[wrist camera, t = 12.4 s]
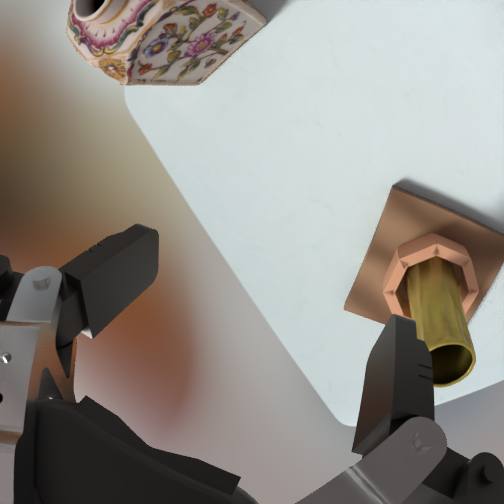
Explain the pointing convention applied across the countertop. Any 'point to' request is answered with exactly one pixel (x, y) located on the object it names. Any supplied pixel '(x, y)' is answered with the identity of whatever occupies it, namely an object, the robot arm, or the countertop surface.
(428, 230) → the board
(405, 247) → the holder ring
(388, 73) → the countertop surface
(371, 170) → the countertop surface
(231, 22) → the decorative jar
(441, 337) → the vase
